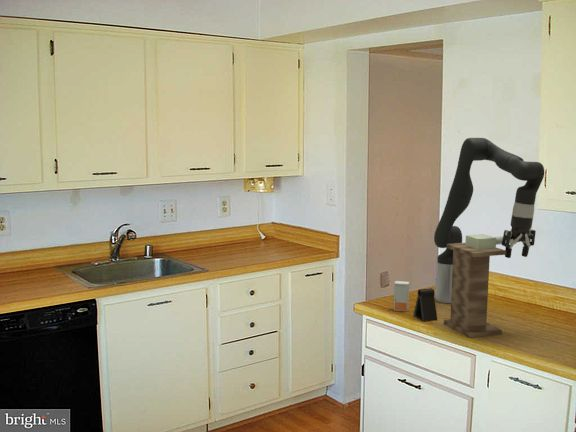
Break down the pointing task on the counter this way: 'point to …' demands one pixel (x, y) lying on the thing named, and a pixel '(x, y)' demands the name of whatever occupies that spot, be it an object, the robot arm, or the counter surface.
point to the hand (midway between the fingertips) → (516, 256)
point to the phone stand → (425, 305)
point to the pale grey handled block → (483, 241)
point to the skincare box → (401, 296)
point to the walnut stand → (471, 290)
